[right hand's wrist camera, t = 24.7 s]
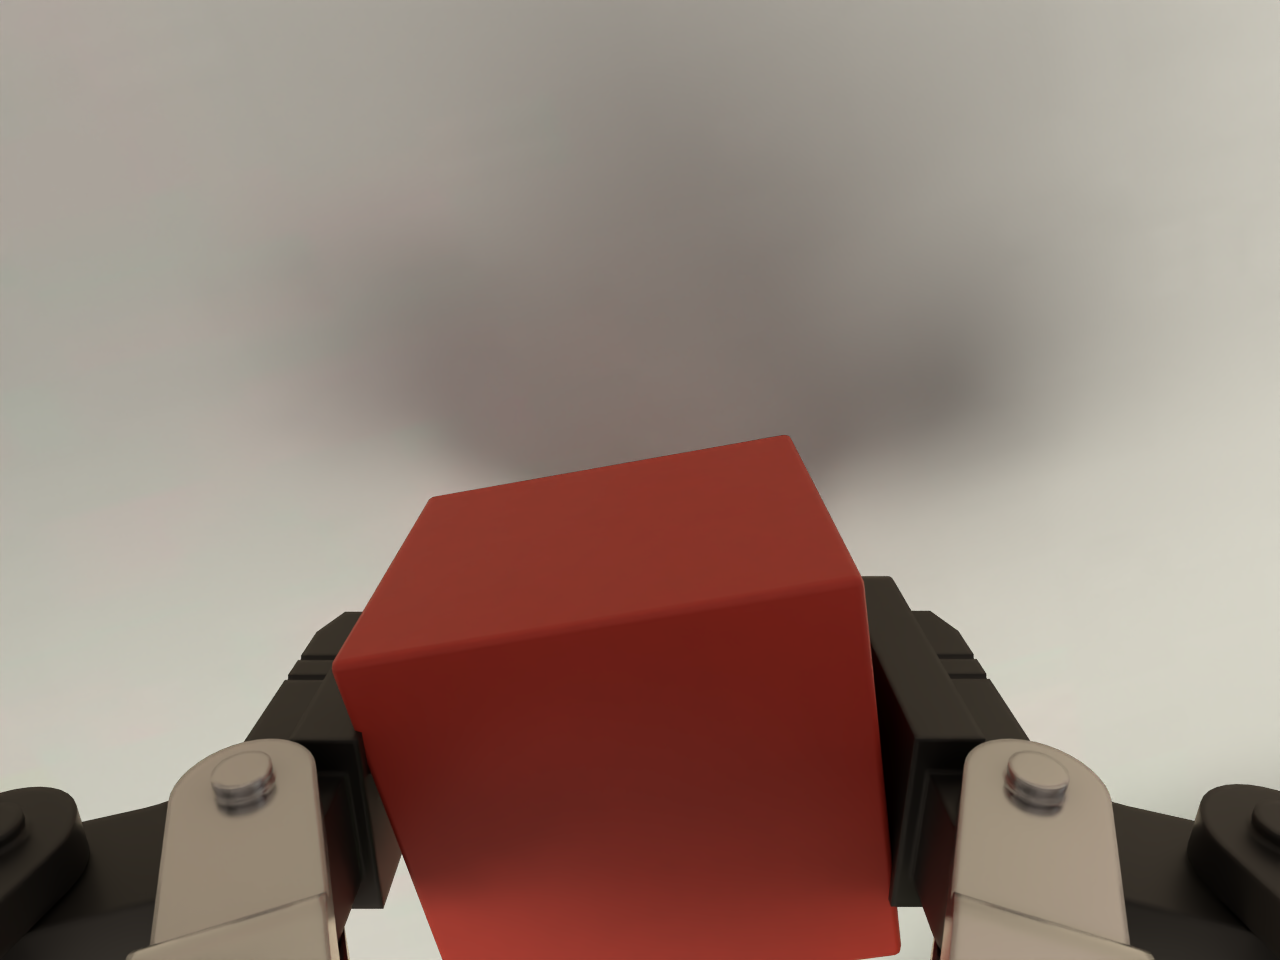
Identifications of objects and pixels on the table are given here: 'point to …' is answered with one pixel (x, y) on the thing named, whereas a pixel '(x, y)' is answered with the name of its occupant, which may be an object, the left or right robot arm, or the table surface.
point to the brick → (631, 717)
